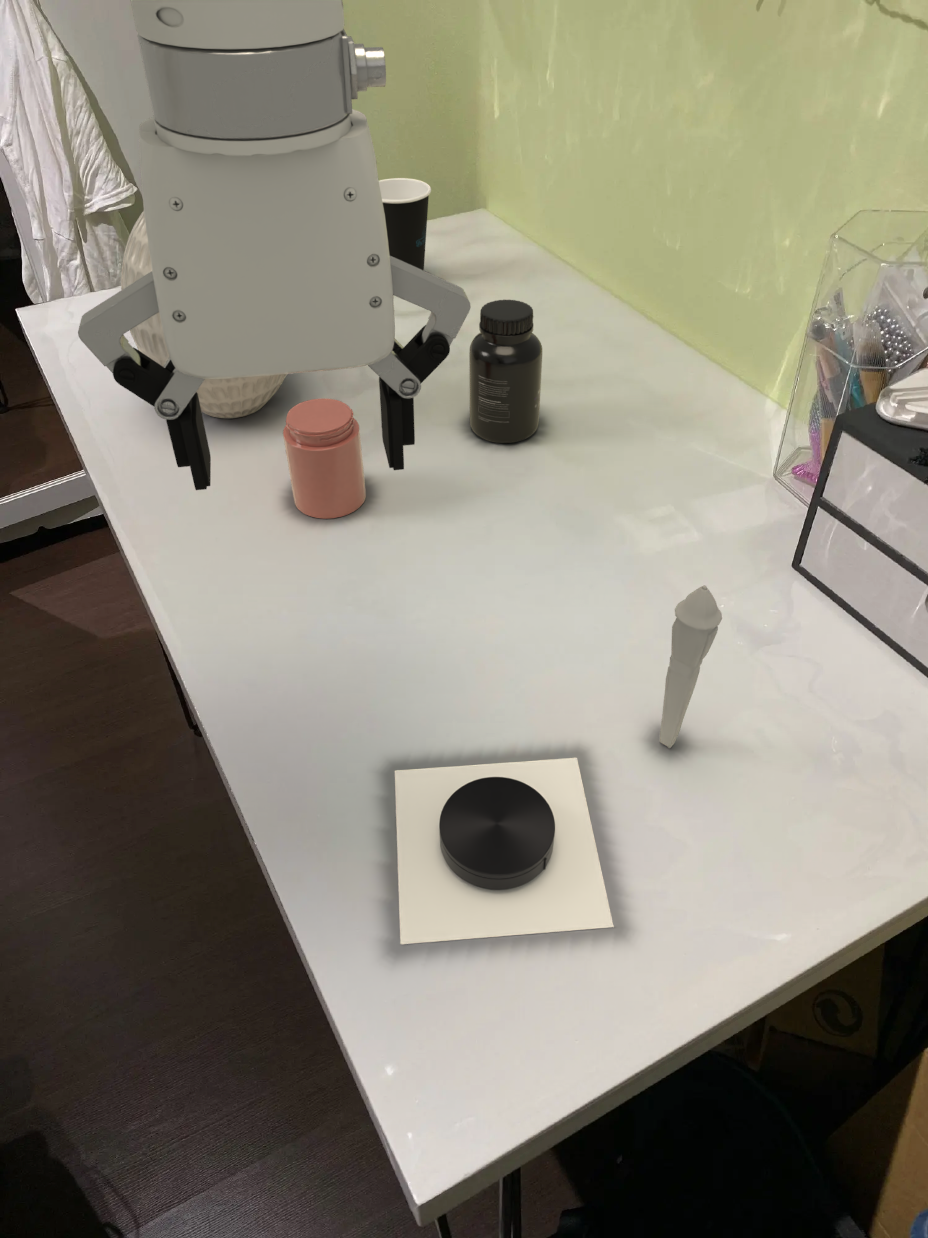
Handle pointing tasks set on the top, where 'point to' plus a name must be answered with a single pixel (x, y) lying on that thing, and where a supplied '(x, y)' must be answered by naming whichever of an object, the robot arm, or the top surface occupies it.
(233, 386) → the vase
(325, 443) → the cream jar
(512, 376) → the supplement bottle
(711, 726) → the top surface
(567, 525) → the top surface
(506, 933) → the cream paper sheet
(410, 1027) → the top surface
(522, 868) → the jar lid
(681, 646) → the grey tapered bar
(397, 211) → the dixie cup
